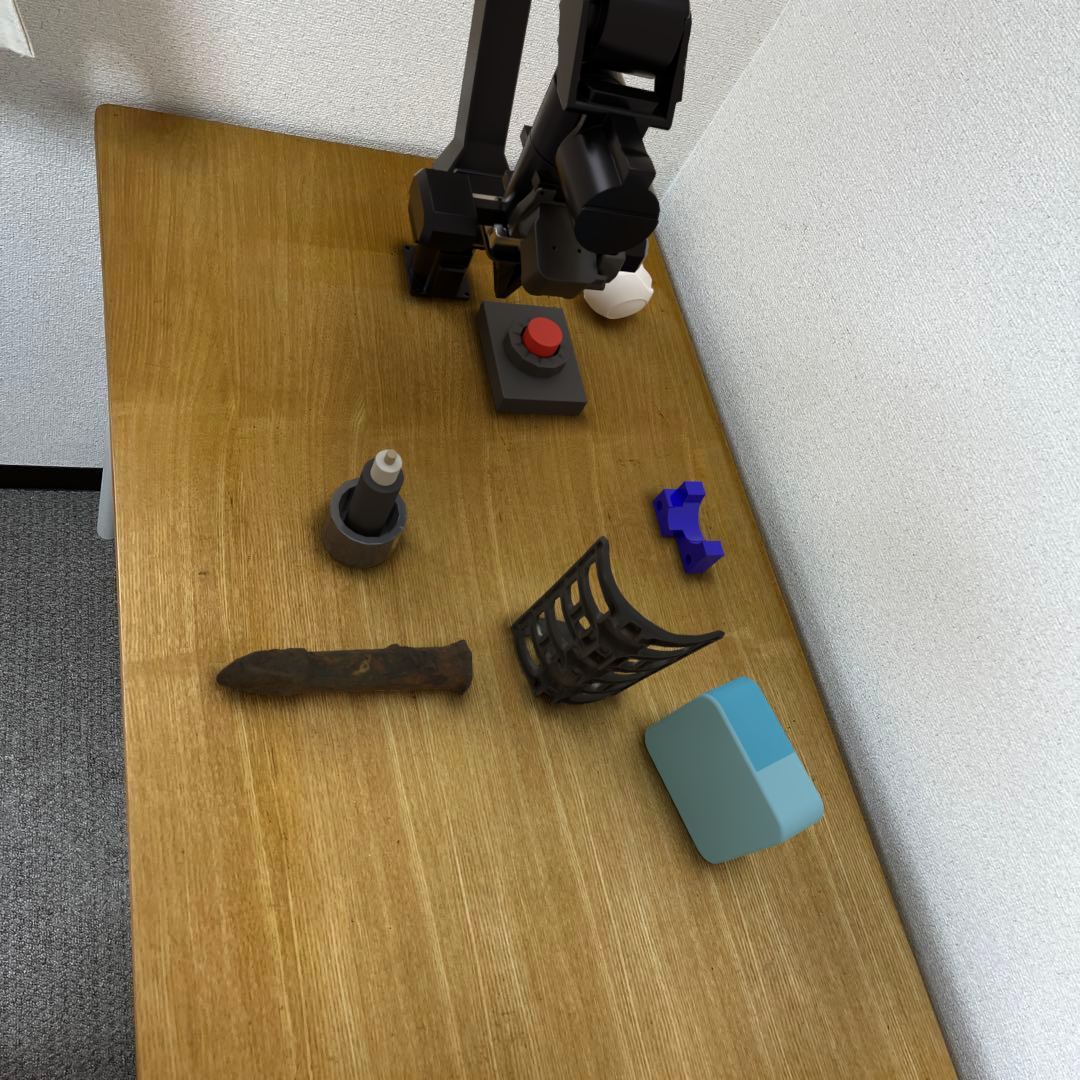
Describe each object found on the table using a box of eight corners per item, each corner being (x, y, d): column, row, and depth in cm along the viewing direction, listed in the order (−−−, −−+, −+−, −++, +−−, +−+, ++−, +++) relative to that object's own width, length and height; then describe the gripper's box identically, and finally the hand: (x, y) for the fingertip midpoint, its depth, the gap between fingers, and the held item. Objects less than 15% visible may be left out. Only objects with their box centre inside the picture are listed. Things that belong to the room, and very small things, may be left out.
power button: (519, 327, 89) (525, 315, 88) (552, 329, 90) (558, 318, 89) (526, 356, 88) (532, 345, 86) (559, 358, 89) (566, 347, 88)
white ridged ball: (645, 313, 102) (678, 265, 96) (612, 345, 98) (644, 297, 91) (592, 268, 102) (621, 217, 96) (556, 298, 98) (584, 247, 92)
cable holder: (652, 501, 90) (671, 481, 86) (682, 501, 91) (701, 481, 88) (672, 574, 86) (693, 555, 83) (703, 573, 88) (724, 554, 84)
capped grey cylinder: (335, 520, 76) (364, 438, 65) (371, 512, 77) (404, 432, 67) (348, 553, 75) (378, 475, 64) (384, 544, 76) (419, 468, 66)
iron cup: (318, 503, 76) (326, 476, 73) (390, 503, 79) (401, 477, 75) (325, 569, 74) (334, 545, 70) (399, 567, 76) (411, 543, 73)
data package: (745, 845, 76) (833, 816, 66) (705, 868, 73) (790, 841, 64) (677, 715, 79) (751, 669, 69) (637, 733, 77) (708, 688, 67)
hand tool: (459, 652, 75) (475, 631, 71) (463, 699, 73) (480, 679, 69) (217, 649, 68) (221, 626, 64) (215, 701, 66) (219, 680, 62)
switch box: (475, 315, 93) (487, 289, 89) (554, 322, 96) (568, 297, 93) (496, 412, 88) (509, 388, 84) (578, 415, 91) (594, 392, 88)
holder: (630, 656, 80) (743, 580, 62) (604, 734, 76) (716, 676, 59) (519, 603, 79) (603, 509, 61) (488, 679, 75) (567, 603, 58)
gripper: (461, 213, 57) (405, 364, 70) (708, 246, 65) (616, 377, 77) (435, 93, 62) (387, 255, 74) (668, 137, 69) (588, 278, 82)
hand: (499, 294), depth 77 cm, fingers closed
